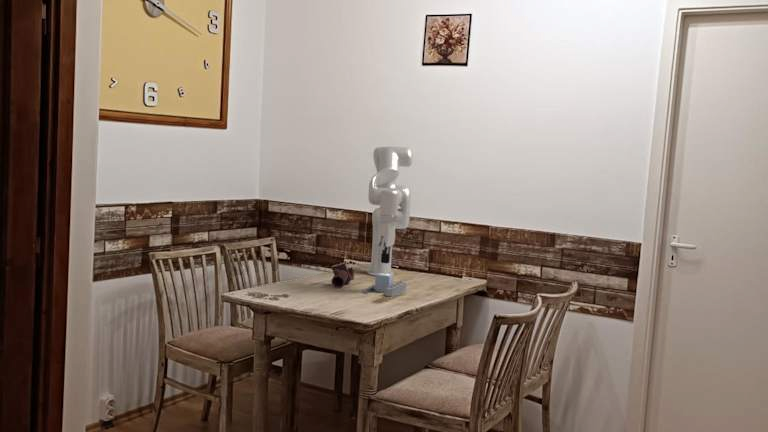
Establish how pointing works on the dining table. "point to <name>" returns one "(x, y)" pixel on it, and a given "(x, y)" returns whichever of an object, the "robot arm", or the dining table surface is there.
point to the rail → (390, 289)
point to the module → (383, 282)
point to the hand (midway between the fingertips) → (385, 262)
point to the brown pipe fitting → (342, 275)
